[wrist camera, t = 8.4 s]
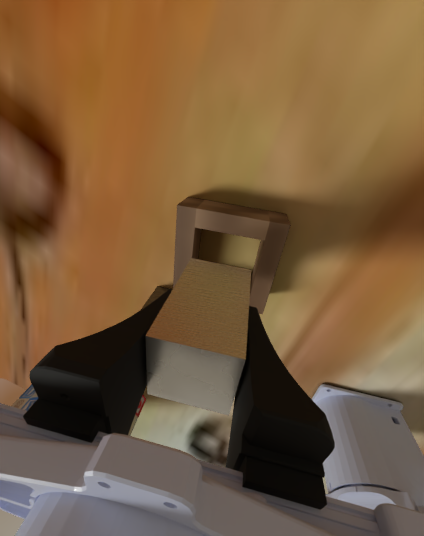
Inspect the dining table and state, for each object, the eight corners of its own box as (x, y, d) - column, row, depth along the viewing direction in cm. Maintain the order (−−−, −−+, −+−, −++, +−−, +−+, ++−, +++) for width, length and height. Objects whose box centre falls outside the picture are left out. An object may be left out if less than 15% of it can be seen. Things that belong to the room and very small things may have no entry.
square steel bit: (251, 269, 15) (245, 359, 9) (239, 316, 17) (228, 415, 11) (191, 257, 15) (145, 335, 9) (187, 304, 17) (147, 394, 11)
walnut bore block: (286, 213, 19) (290, 225, 16) (262, 295, 23) (262, 314, 20) (187, 196, 20) (177, 205, 17) (182, 278, 24) (172, 294, 21)
